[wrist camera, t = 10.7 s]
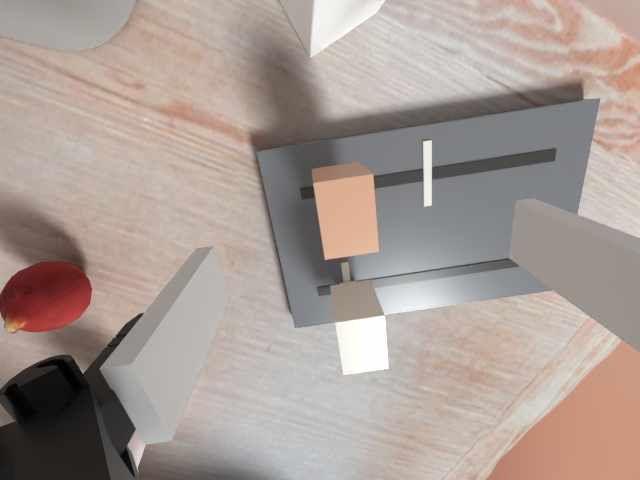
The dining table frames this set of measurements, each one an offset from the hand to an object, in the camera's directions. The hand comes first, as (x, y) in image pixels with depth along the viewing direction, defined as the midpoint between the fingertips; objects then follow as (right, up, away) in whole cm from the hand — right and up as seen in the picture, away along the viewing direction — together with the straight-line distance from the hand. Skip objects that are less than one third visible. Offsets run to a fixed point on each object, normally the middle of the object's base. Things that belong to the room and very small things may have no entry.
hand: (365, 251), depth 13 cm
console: (+8, +2, +16) cm, 18 cm away
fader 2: (+1, -4, +16) cm, 17 cm away
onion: (-26, -3, +16) cm, 31 cm away
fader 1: (-1, +5, +12) cm, 13 cm away
